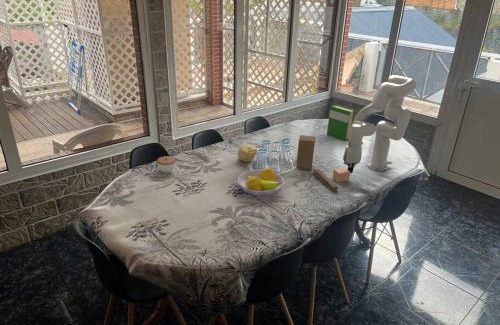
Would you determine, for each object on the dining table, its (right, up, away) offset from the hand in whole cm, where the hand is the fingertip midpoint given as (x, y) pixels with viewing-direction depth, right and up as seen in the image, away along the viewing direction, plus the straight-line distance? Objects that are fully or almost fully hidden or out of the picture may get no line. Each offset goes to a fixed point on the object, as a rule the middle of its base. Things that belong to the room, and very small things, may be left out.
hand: (349, 172), depth 224 cm
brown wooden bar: (-16, -6, -4) cm, 18 cm away
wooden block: (-26, +3, +15) cm, 30 cm away
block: (-6, -4, 0) cm, 7 cm away
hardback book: (+9, +26, +68) cm, 73 cm away
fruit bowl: (-55, -10, -16) cm, 58 cm away
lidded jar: (-113, 0, +1) cm, 113 cm away
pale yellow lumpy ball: (-64, +7, +20) cm, 67 cm away
